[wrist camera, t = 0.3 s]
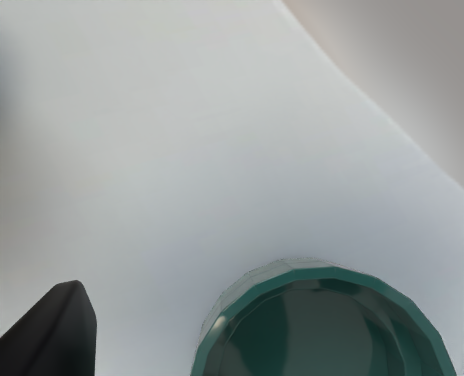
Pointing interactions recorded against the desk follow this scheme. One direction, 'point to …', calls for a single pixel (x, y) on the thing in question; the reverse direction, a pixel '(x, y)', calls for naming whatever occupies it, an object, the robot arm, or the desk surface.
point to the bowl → (317, 326)
